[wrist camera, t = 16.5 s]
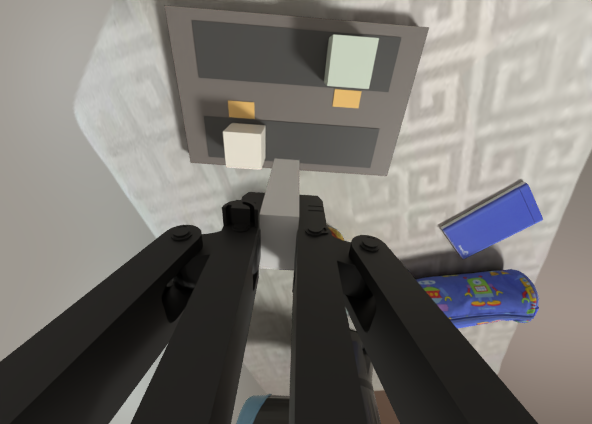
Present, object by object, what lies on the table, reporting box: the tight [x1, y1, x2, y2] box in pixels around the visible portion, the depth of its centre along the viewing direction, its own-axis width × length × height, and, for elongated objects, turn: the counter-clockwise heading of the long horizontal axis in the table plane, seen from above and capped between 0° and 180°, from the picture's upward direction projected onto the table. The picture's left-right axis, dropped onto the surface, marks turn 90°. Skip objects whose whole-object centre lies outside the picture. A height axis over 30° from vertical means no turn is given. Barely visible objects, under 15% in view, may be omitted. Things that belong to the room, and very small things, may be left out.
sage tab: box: [324, 34, 379, 89], centre depth 24 cm, size 4×4×4 cm
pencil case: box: [416, 269, 539, 328], centre depth 42 cm, size 22×9×10 cm, turn 100°
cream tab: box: [223, 123, 265, 170], centre depth 29 cm, size 4×4×4 cm
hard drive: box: [440, 182, 543, 259], centre depth 39 cm, size 2×8×12 cm
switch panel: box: [164, 5, 429, 176], centre depth 29 cm, size 16×26×2 cm, turn 86°
